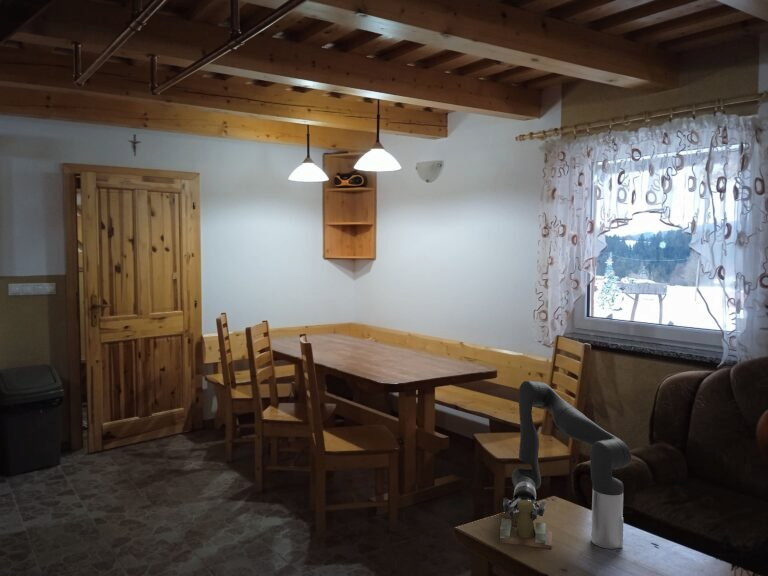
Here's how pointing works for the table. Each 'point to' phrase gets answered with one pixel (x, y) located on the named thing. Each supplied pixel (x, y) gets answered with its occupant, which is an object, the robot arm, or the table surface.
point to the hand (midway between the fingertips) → (522, 516)
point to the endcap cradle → (511, 537)
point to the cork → (525, 519)
